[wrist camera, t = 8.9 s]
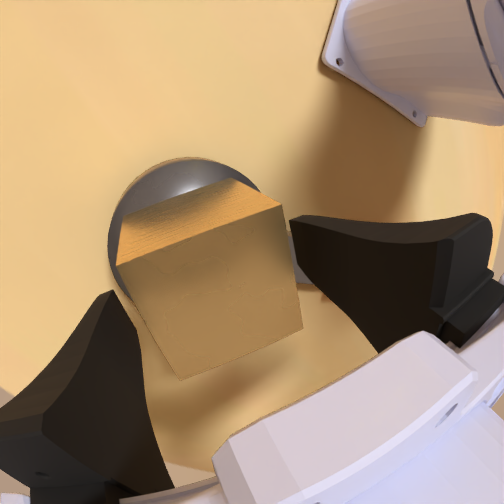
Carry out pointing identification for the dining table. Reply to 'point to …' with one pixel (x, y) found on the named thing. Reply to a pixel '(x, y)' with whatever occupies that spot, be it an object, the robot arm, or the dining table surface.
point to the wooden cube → (210, 274)
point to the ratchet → (170, 185)
